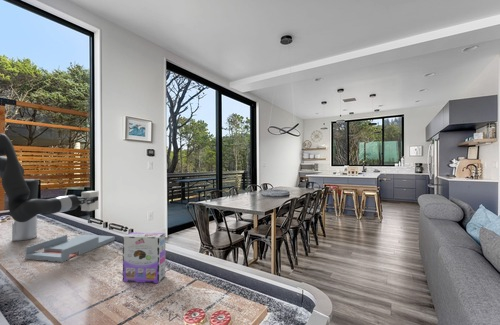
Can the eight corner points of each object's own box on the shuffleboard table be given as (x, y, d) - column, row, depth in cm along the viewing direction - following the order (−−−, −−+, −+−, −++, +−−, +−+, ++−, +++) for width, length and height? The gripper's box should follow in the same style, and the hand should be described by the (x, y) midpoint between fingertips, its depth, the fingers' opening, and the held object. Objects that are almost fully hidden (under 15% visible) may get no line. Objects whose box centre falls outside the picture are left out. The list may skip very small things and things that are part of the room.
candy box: (165, 276, 89) (166, 232, 89) (158, 284, 83) (158, 237, 83) (131, 274, 90) (132, 231, 90) (121, 281, 84) (122, 235, 84)
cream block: (89, 211, 125) (89, 192, 125) (81, 210, 126) (81, 192, 126) (98, 208, 131) (98, 191, 131) (90, 208, 132) (90, 190, 132)
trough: (62, 262, 100) (62, 250, 100) (25, 258, 104) (25, 247, 104) (114, 240, 130) (114, 231, 130) (84, 237, 133) (84, 229, 133)
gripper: (77, 196, 113) (104, 192, 130) (52, 195, 115) (82, 190, 132) (77, 212, 113) (104, 205, 130) (52, 210, 115) (82, 204, 132)
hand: (93, 198), depth 131 cm, fingers closed on cream block, 5 cm apart
